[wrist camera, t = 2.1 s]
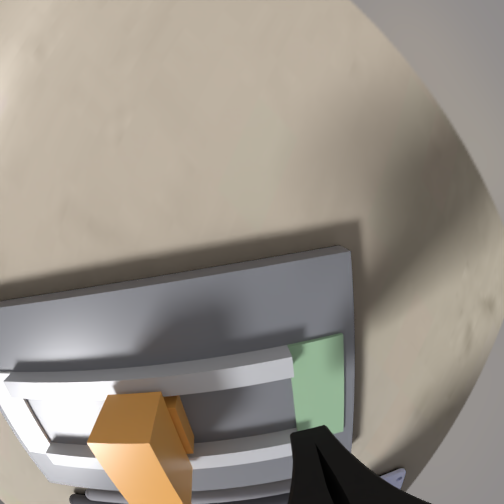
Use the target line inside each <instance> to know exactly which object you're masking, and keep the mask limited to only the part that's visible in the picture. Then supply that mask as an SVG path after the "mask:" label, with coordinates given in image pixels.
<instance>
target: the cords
mask: <svg viewBox="0 0 504 504" xmlns="http://www.w3.org/2000/svg"><path fill="white" fill-rule="evenodd" d="M291 480H292V478H291V479H286V480H281V481H275V482H270V483H264V484H258V485H251V486H244V487H236V488H227V489H217V490H205V491H192V496H191V504H287V503H288V499H289V493H290V487H291ZM69 500H70V503H71V504H129V503H128V502H127V500H126V499H125V498H124V497H123V495H122V494H121V493H120V491H113V490H101V489H92V488H88V489H87V490H86V491H85V495H80V494H72V495H71V496H70V498H69Z"/></svg>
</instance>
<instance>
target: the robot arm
mask: <svg viewBox="0 0 504 504" xmlns="http://www.w3.org/2000/svg"><path fill="white" fill-rule="evenodd" d="M290 441H291V450H292V458H293V467H292V480H291V487H290V493H289V499H288V503H287V504H431V503H428V502H426V501H423V500H421V499H419V498H416V497H414V496H412V495H410V494H408V493H406V492H404V491H402V490H400V489H401V486H402V483H403V480H404V477H405V474H406V471H405V469H404V468H400V469H398V470H395V471H393V472H390V473H387V474H385V475H382V476H378V475H377V474H375V473H374V472H373V471H371V470H370V469H369V468H367V467H366V466H365V465H364V464H363V463H361V462H360V461H359V460H358V459H357V458H356V457H355V456H354V455H353V454H351V453H350V452H349V451H348V450H347V449H346V448H345V447H344V446H343V445H342V444H341V443H340V441H339V440H338V439H337V438H336V437H335V436H334V435H333V433H332V432H331V431H330V430H329V428H328V427H327V426H325V425H322V426H318V427H314V428H310V429H306V430H301V431H297V432H292V433H291V434H290Z"/></svg>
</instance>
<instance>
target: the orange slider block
mask: <svg viewBox="0 0 504 504" xmlns="http://www.w3.org/2000/svg"><path fill="white" fill-rule="evenodd" d="M87 444H88V446H89V447H90V449H91V451H92V452H93V454H94V455H95V457H96V458H97V460H98V461H99V463H100V464H101V466H102V467H103V469H104V470H105V472H106V473H107V475H108V476H109V478H110V479H111V480H112V482H113V483H114V484H115V486H116V487H117V489H118V490H119V491H120V493H121V494H122V495H123V497H124V498H125V499H126V500H127V502H128V503H129V504H191V496H192V472H193V467H192V465H191V463H190V461H189V459H188V456H187V454H193V452H194V434H193V432H192V429H191V426H190V424H189V421H188V418H187V416H186V413H185V410H184V407H183V404H182V401H181V399H180V396H179V395H176V396H166V397H163V395H162V392H161V391H160V392H147V393H133V394H114V395H107V397H106V400H105V402H104V404H103V406H102V408H101V411H100V413H99V415H98V417H97V420H96V422H95V424H94V427H93V429H92V431H91V434H90V436H89V438H88V441H87Z"/></svg>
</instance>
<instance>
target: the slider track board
mask: <svg viewBox="0 0 504 504" xmlns="http://www.w3.org/2000/svg"><path fill="white" fill-rule="evenodd" d="M354 378H355V335H354V300H353V279H352V263H351V251H350V250H348V249H346V248H344V247H342V246H340V245H339V246H333V247H327V248H322V249H316V250H310V251H304V252H298V253H293V254H287V255H281V256H275V257H269V258H264V259H258V260H252V261H246V262H240V263H234V264H228V265H222V266H216V267H210V268H204V269H198V270H192V271H186V272H180V273H174V274H168V275H162V276H156V277H150V278H144V279H138V280H131V281H125V282H119V283H113V284H107V285H100V286H94V287H88V288H81V289H75V290H69V291H62V292H56V293H50V294H43V295H37V296H30V297H24V298H17V299H11V300H4V301H0V411H1V413H2V414H3V416H4V418H5V419H6V421H7V423H8V424H9V426H10V428H11V429H12V431H13V432H14V434H15V435H16V437H17V438H18V440H19V441H20V443H21V444H22V446H23V447H24V449H25V450H26V452H27V453H28V454H29V456H30V457H31V459H32V460H33V461H34V463H35V464H36V465H37V467H38V468H39V469H40V471H41V472H42V473H43V474H44V476H45V477H46V478H47V479H48V481H49V482H51V483H57V484H63V485H69V486H76V487H83V488H92V489H101V490H113V491H119V490H118V489H117V487H116V486H115V484H114V483H113V482H112V480H111V479H110V478H109V476H108V475H107V473H106V472H105V470H104V469H103V467H102V466H101V464H100V463H99V461H98V460H97V458H96V457H95V455H94V454H93V452H92V451H91V449H90V447H89V446H88V444H87V441H88V438H89V436H90V434H91V431H92V429H93V427H94V424H95V422H96V420H97V417H98V415H99V413H100V411H101V408H102V406H103V404H104V402H105V400H106V397H107V395H114V394H133V393H147V392H160V391H161V392H162V395H163V397H166V396H176V395H179V396H180V399H181V401H182V404H183V407H184V410H185V413H186V416H187V418H188V421H189V424H190V426H191V429H192V432H193V434H194V452H193V454H187V456H188V459H189V461H190V463H191V465H192V467H193V472H192V491H205V490H217V489H227V488H236V487H244V486H251V485H258V484H264V483H270V482H275V481H281V480H286V479H291V478H292V467H293V458H292V450H291V441H290V434H291V433H292V432H297V431H301V430H306V429H310V428H314V427H318V426H322V425H325V426H327V427H328V428H329V430H330V431H331V432H332V433H333V435H334V436H335V437H336V438H337V439H338V440H339V441H340V443H341V444H342V445H343V446H344V447H345V448H346V449H347V450H348V451H349V452H350V453H351V447H352V432H353V412H354Z"/></svg>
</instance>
